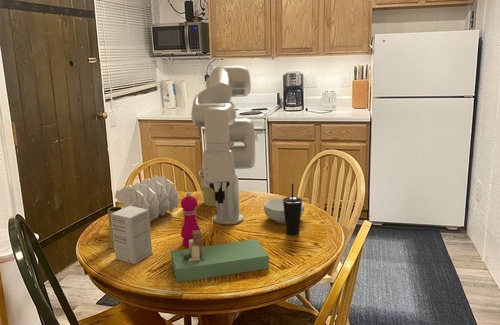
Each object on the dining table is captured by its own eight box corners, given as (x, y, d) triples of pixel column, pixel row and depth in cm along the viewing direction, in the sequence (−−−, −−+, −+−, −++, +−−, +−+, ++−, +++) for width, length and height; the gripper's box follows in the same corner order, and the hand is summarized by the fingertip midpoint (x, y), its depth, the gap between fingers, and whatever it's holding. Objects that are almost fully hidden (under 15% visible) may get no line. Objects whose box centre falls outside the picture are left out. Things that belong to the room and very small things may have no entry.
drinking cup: (301, 237, 177) (301, 187, 172) (281, 236, 178) (281, 186, 174) (303, 230, 184) (303, 181, 179) (284, 229, 186) (283, 180, 181)
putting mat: (171, 263, 158) (170, 251, 157) (256, 251, 166) (256, 239, 165) (177, 282, 145) (176, 269, 144) (269, 268, 153) (268, 255, 152)
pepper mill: (204, 241, 176) (201, 190, 171) (196, 249, 169) (193, 196, 165) (187, 239, 178) (184, 188, 174) (178, 246, 172) (174, 194, 167)
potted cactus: (197, 199, 225) (194, 137, 218) (229, 196, 229) (227, 135, 222) (202, 209, 211) (199, 144, 204) (235, 206, 214) (233, 141, 207)
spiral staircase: (176, 219, 210) (137, 236, 189) (149, 198, 217) (108, 212, 195) (190, 186, 203) (151, 200, 182) (161, 165, 210) (120, 176, 188)
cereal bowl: (310, 224, 190) (310, 207, 189) (272, 229, 186) (271, 212, 184) (294, 211, 206) (294, 195, 204) (258, 215, 202) (258, 200, 200)
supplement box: (133, 248, 171) (130, 205, 167) (153, 253, 166) (149, 208, 162) (114, 259, 163) (109, 213, 159) (133, 264, 158) (129, 217, 154)
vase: (111, 249, 170) (108, 212, 167) (108, 244, 176) (104, 207, 172) (128, 246, 173) (125, 209, 170) (124, 240, 178) (121, 205, 175)
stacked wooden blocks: (189, 250, 156) (188, 228, 154) (199, 249, 157) (198, 227, 155) (193, 261, 148) (192, 237, 146) (204, 259, 149) (202, 236, 147)
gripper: (237, 142, 152) (239, 196, 157) (191, 146, 148) (195, 201, 153) (243, 147, 145) (245, 203, 150) (196, 151, 141) (199, 208, 146)
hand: (219, 202), depth 151 cm, fingers closed
